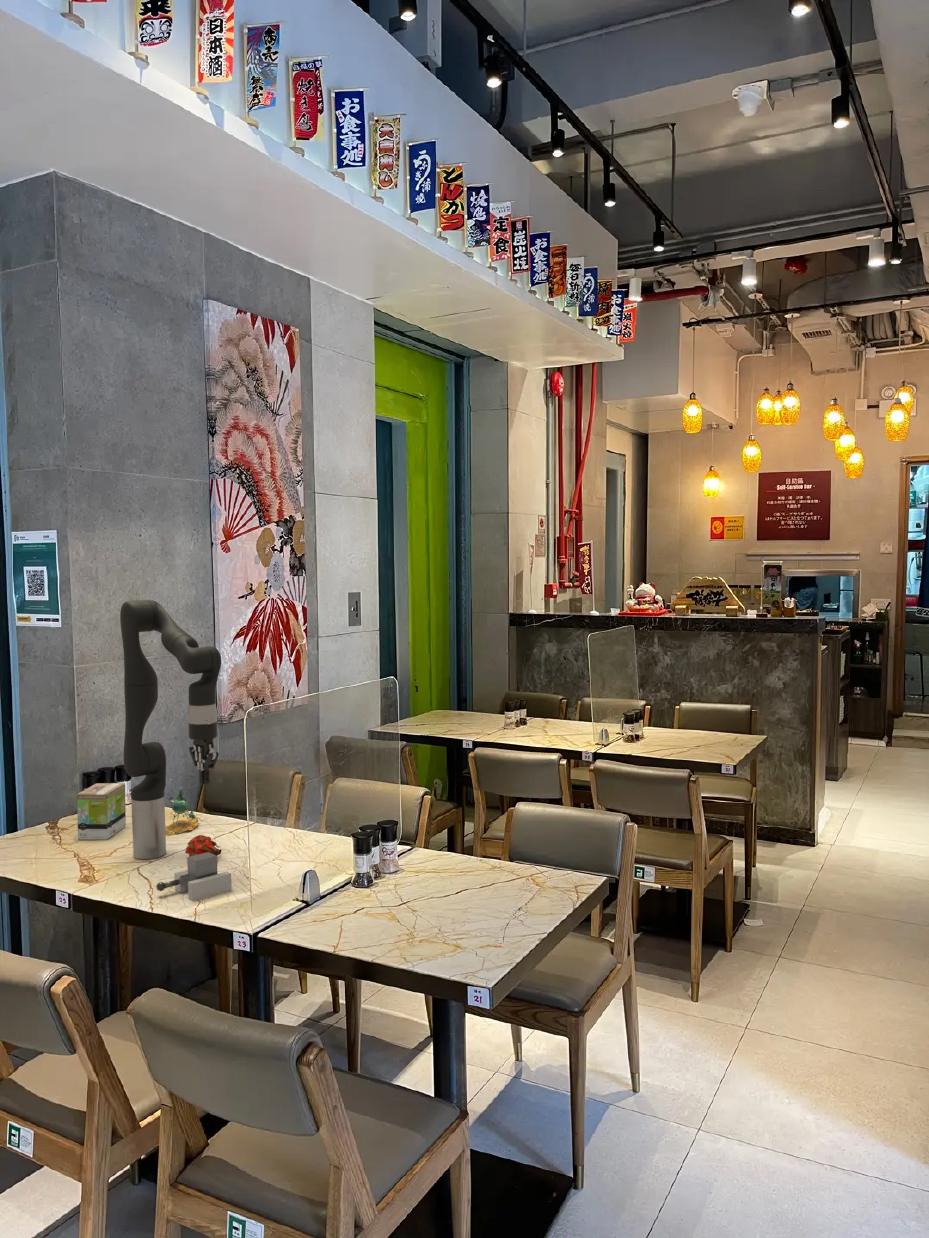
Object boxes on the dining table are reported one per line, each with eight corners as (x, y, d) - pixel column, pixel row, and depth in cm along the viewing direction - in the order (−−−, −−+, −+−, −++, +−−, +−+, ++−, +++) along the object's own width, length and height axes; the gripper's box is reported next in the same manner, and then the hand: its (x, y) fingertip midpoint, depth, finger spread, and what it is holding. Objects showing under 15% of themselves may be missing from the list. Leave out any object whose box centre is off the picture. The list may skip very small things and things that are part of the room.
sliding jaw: (154, 895, 240) (154, 878, 240) (210, 880, 251) (209, 864, 251) (159, 898, 238) (159, 881, 238) (215, 883, 249) (215, 866, 248)
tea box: (109, 840, 293) (107, 793, 292) (77, 840, 293) (75, 793, 292) (127, 826, 308) (125, 781, 307) (96, 826, 308) (94, 782, 307)
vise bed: (153, 884, 252) (152, 863, 252) (191, 874, 260) (190, 854, 259) (192, 905, 236) (191, 883, 236) (231, 894, 244) (230, 873, 243)
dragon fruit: (192, 862, 275) (216, 876, 268) (172, 852, 269) (196, 866, 261) (208, 836, 278) (232, 849, 270) (189, 825, 272) (213, 839, 264)
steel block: (188, 891, 243) (187, 857, 243) (209, 885, 247) (208, 851, 247) (196, 895, 240) (195, 861, 239) (218, 889, 244) (216, 855, 244)
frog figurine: (214, 823, 310) (210, 780, 308) (175, 844, 294) (170, 799, 292) (192, 819, 315) (187, 777, 312) (152, 840, 299) (147, 796, 296)
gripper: (178, 719, 257) (180, 781, 258) (201, 725, 247) (203, 790, 248) (203, 715, 262) (205, 776, 263) (227, 721, 252) (229, 785, 253)
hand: (204, 783), depth 256 cm, fingers closed
